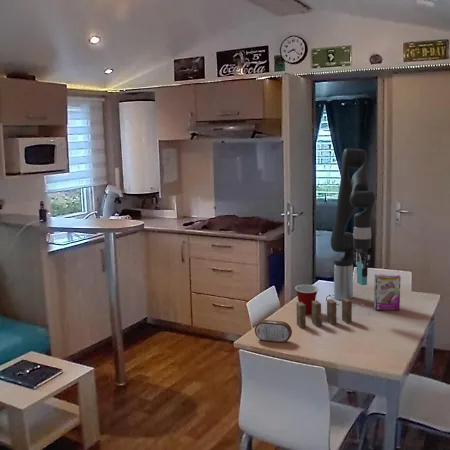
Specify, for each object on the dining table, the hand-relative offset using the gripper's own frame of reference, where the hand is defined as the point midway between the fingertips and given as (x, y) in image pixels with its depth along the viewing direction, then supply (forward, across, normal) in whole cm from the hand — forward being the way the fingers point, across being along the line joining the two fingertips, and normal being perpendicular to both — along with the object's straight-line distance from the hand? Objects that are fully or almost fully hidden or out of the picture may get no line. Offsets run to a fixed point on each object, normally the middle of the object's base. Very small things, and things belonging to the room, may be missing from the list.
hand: (362, 274), depth 246 cm
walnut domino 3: (+20, 0, +14) cm, 25 cm away
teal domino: (+4, 0, 0) cm, 4 cm away
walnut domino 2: (+20, 0, +21) cm, 29 cm away
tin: (+21, -14, +45) cm, 51 cm away
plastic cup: (+21, +17, +20) cm, 33 cm away
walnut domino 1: (+20, 0, +28) cm, 35 cm away
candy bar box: (+21, +11, -18) cm, 29 cm away
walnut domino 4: (+21, 0, +7) cm, 22 cm away
